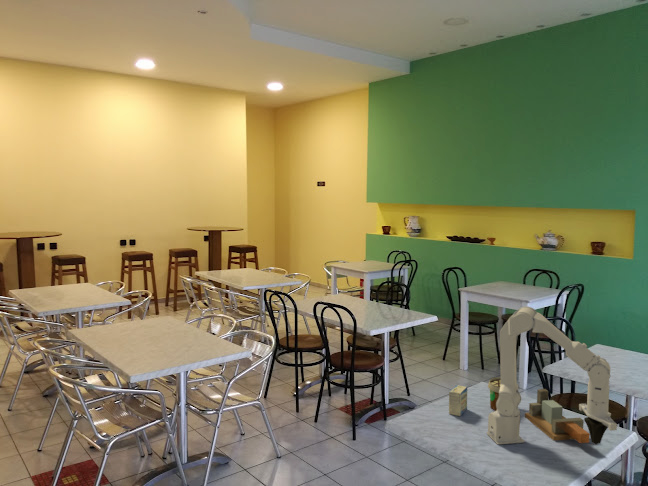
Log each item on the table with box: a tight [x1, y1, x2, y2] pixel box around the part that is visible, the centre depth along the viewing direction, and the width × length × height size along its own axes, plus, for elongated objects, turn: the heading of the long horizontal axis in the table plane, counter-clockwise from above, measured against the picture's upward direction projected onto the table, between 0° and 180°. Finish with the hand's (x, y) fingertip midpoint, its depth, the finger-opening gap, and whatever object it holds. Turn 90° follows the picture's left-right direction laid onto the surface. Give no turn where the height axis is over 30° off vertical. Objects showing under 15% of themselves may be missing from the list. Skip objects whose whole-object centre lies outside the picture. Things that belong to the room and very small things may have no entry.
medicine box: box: [448, 384, 468, 417], centre depth 191 cm, size 8×4×9 cm, turn 147°
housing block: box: [541, 399, 564, 424], centre depth 180 cm, size 4×6×6 cm, turn 8°
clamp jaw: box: [552, 417, 590, 444], centre depth 167 cm, size 10×10×4 cm
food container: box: [487, 376, 501, 412], centre depth 195 cm, size 12×6×10 cm, turn 145°
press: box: [524, 388, 575, 441], centre depth 178 cm, size 12×18×10 cm, turn 8°
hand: (595, 442), depth 157 cm, fingers closed
